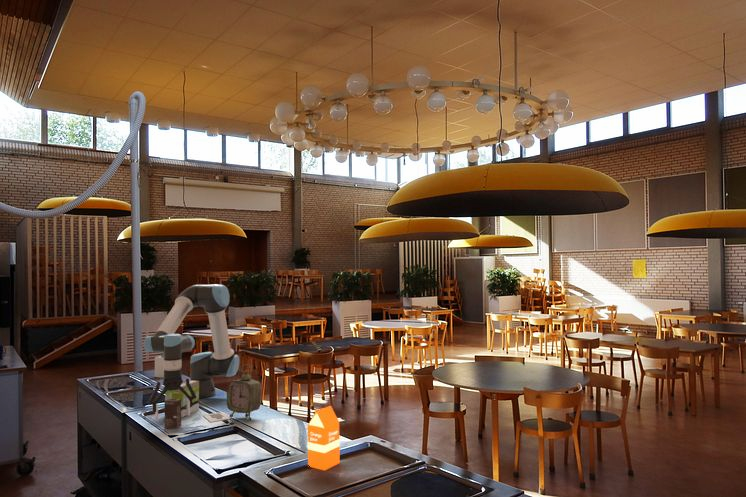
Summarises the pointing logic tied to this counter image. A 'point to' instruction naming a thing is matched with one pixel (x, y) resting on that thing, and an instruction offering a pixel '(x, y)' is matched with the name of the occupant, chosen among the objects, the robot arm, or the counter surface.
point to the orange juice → (323, 439)
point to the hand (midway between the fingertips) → (172, 417)
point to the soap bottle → (159, 366)
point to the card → (217, 417)
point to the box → (172, 413)
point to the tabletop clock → (244, 394)
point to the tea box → (179, 395)
